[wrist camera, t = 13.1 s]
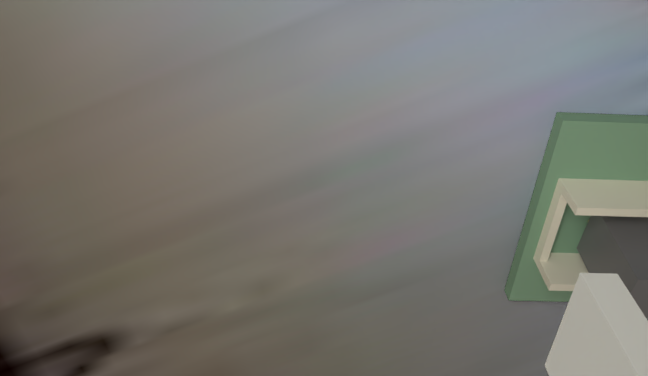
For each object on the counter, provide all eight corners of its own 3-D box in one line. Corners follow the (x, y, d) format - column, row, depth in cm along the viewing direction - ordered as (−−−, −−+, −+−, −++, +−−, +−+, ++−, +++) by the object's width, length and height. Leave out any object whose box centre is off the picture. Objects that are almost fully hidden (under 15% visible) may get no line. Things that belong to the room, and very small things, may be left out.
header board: (556, 112, 40) (584, 147, 36) (731, 118, 40) (776, 153, 36) (504, 289, 48) (521, 333, 45) (648, 293, 49) (677, 336, 45)
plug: (595, 205, 42) (637, 279, 37) (653, 207, 42) (704, 281, 37) (576, 248, 45) (613, 324, 39) (630, 250, 45) (675, 325, 39)
